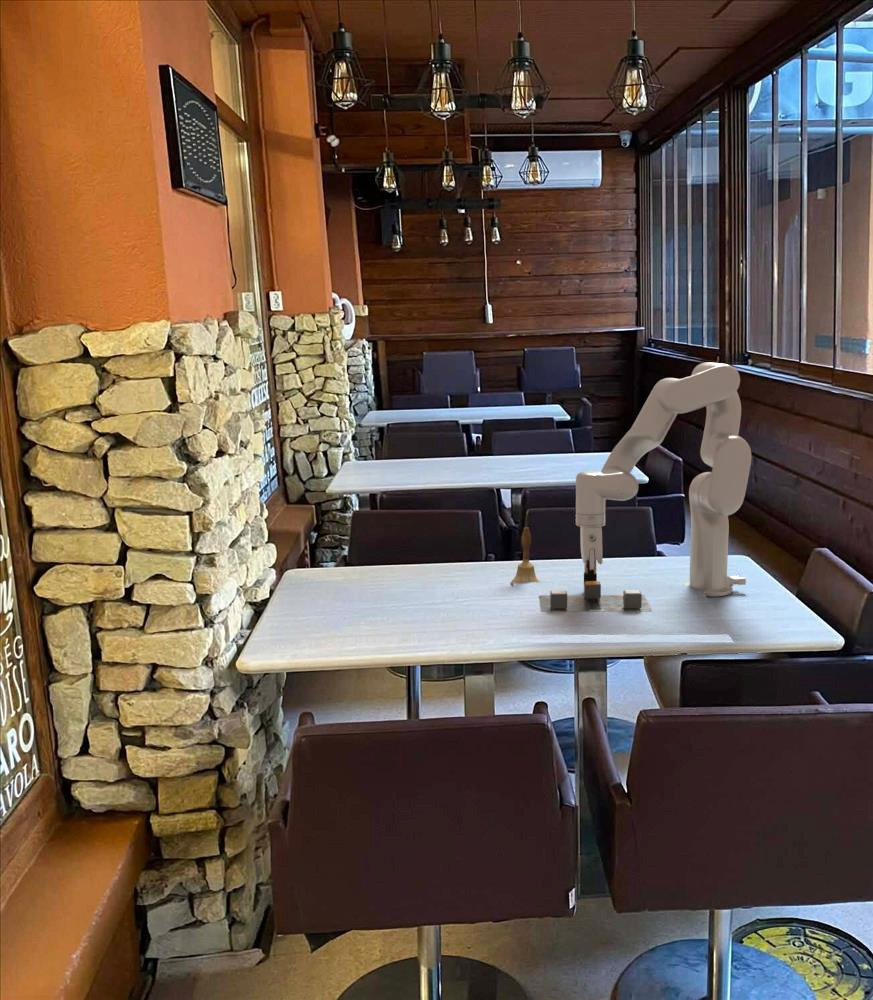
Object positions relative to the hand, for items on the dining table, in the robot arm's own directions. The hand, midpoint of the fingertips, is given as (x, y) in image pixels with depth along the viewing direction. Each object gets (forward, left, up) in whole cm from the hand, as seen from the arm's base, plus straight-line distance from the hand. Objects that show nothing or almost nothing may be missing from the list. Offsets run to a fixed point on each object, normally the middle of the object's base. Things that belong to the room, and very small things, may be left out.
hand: (590, 587), depth 246 cm
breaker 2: (-9, +14, -1) cm, 17 cm away
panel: (0, +10, -3) cm, 11 cm away
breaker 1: (+9, +14, -1) cm, 17 cm away
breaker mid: (0, +6, -1) cm, 6 cm away
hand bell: (+16, -14, -3) cm, 22 cm away
